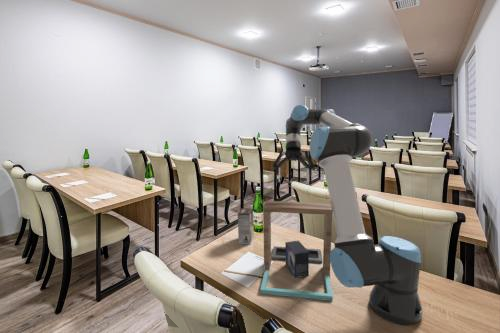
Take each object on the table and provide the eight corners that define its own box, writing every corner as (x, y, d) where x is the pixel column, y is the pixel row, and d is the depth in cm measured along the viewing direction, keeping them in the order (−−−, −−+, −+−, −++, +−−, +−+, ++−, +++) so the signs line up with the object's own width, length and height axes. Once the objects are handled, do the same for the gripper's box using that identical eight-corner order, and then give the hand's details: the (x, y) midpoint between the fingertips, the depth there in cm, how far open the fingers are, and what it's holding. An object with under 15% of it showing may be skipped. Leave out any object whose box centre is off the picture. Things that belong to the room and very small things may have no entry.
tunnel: (329, 278, 105) (332, 209, 100) (264, 272, 109) (263, 206, 105) (327, 267, 112) (330, 203, 108) (266, 262, 117) (265, 200, 112)
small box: (284, 264, 115) (284, 241, 113) (298, 262, 117) (298, 239, 115) (294, 278, 105) (294, 253, 103) (309, 275, 107) (309, 251, 105)
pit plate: (322, 263, 116) (322, 260, 115) (271, 259, 120) (271, 256, 119) (320, 251, 125) (320, 249, 125) (273, 248, 129) (273, 246, 129)
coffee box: (242, 236, 144) (241, 207, 141) (254, 237, 143) (253, 208, 140) (238, 243, 135) (237, 213, 132) (250, 244, 134) (250, 214, 131)
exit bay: (332, 300, 92) (332, 296, 91) (260, 293, 96) (260, 289, 96) (328, 278, 104) (328, 275, 104) (265, 273, 109) (265, 269, 108)
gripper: (316, 148, 139) (319, 185, 129) (269, 147, 141) (267, 183, 131) (319, 140, 132) (321, 178, 122) (268, 139, 135) (267, 176, 124)
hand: (293, 181), depth 126 cm, fingers open, 13 cm apart
